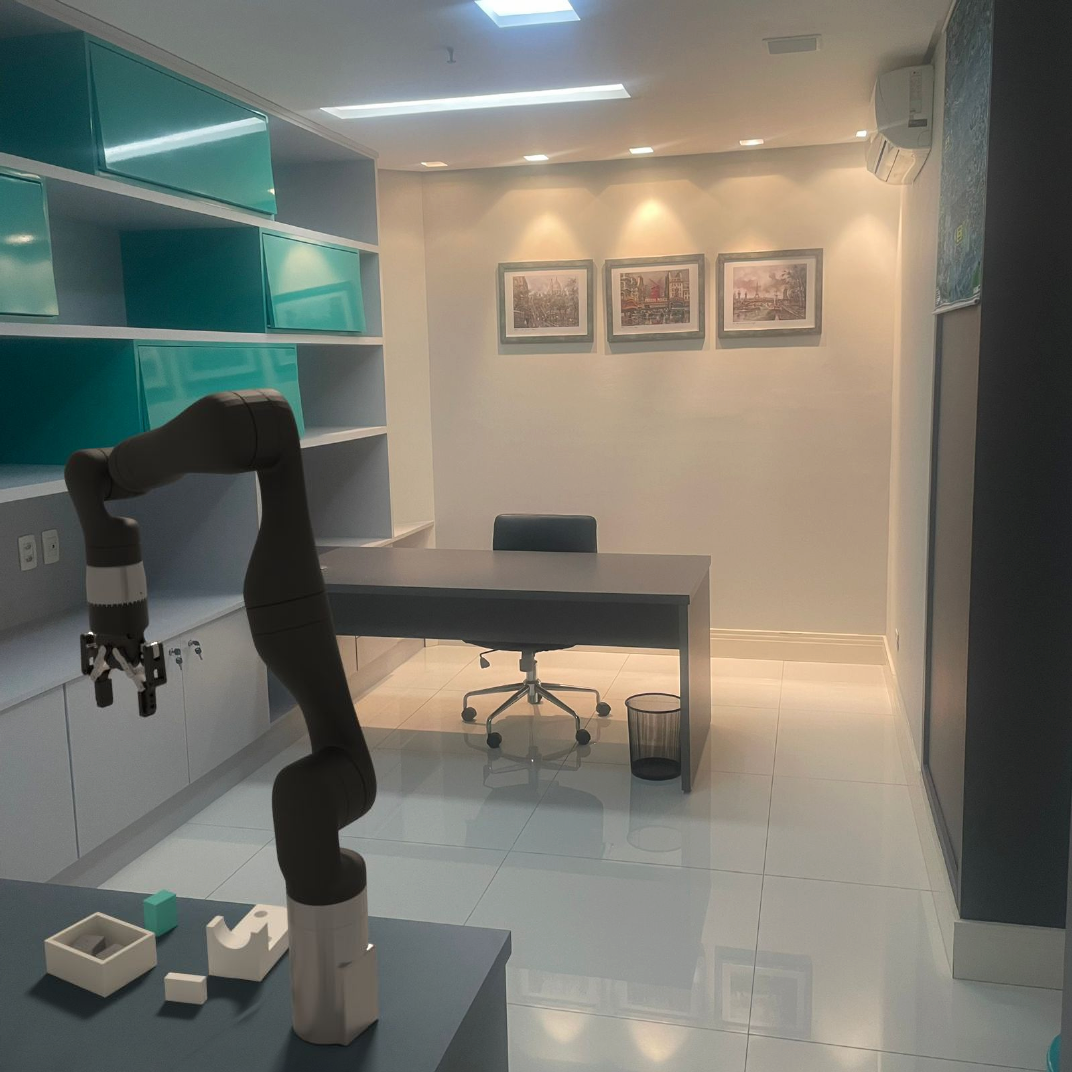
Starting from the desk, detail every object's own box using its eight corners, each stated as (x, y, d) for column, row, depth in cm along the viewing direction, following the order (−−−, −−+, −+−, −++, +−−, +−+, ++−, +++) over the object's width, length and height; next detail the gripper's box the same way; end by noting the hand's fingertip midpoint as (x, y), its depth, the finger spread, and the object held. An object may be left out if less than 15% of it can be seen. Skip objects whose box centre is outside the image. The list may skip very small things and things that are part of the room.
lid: (194, 923, 147) (192, 886, 147) (144, 953, 140) (141, 914, 139) (138, 903, 153) (135, 867, 152) (87, 930, 146) (84, 893, 145)
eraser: (171, 999, 130) (169, 972, 129) (207, 1003, 129) (206, 976, 128) (165, 1005, 128) (164, 977, 128) (202, 1009, 127) (200, 982, 127)
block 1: (106, 957, 137) (105, 936, 137) (93, 970, 134) (91, 949, 134) (85, 955, 138) (83, 934, 137) (72, 968, 135) (70, 947, 134)
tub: (157, 968, 136) (154, 933, 135) (105, 1001, 129) (102, 964, 128) (100, 946, 141) (97, 911, 140) (47, 976, 134) (44, 940, 133)
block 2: (133, 971, 134) (131, 949, 134) (113, 983, 132) (112, 961, 131) (117, 964, 136) (115, 943, 135) (97, 976, 133) (96, 954, 133)
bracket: (260, 988, 132) (257, 932, 131) (209, 981, 134) (206, 926, 132) (305, 933, 144) (303, 882, 143) (258, 927, 146) (255, 876, 145)
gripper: (176, 595, 141) (184, 711, 144) (105, 585, 148) (113, 695, 151) (130, 607, 135) (139, 727, 138) (58, 595, 142) (68, 710, 145)
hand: (126, 710), depth 144 cm, fingers open, 8 cm apart
